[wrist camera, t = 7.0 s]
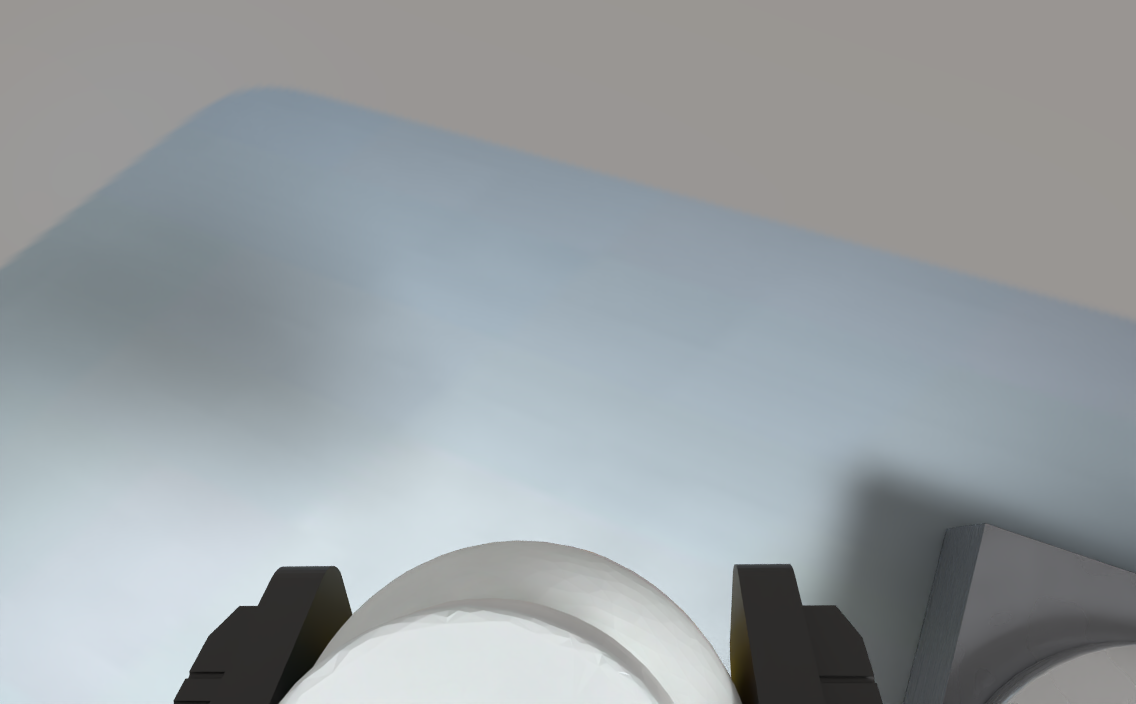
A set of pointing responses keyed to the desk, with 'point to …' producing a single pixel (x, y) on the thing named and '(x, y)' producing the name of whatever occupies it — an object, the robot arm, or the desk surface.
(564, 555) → the supplement bottle
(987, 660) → the scale
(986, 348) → the desk surface
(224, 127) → the desk surface
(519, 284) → the desk surface
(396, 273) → the desk surface
